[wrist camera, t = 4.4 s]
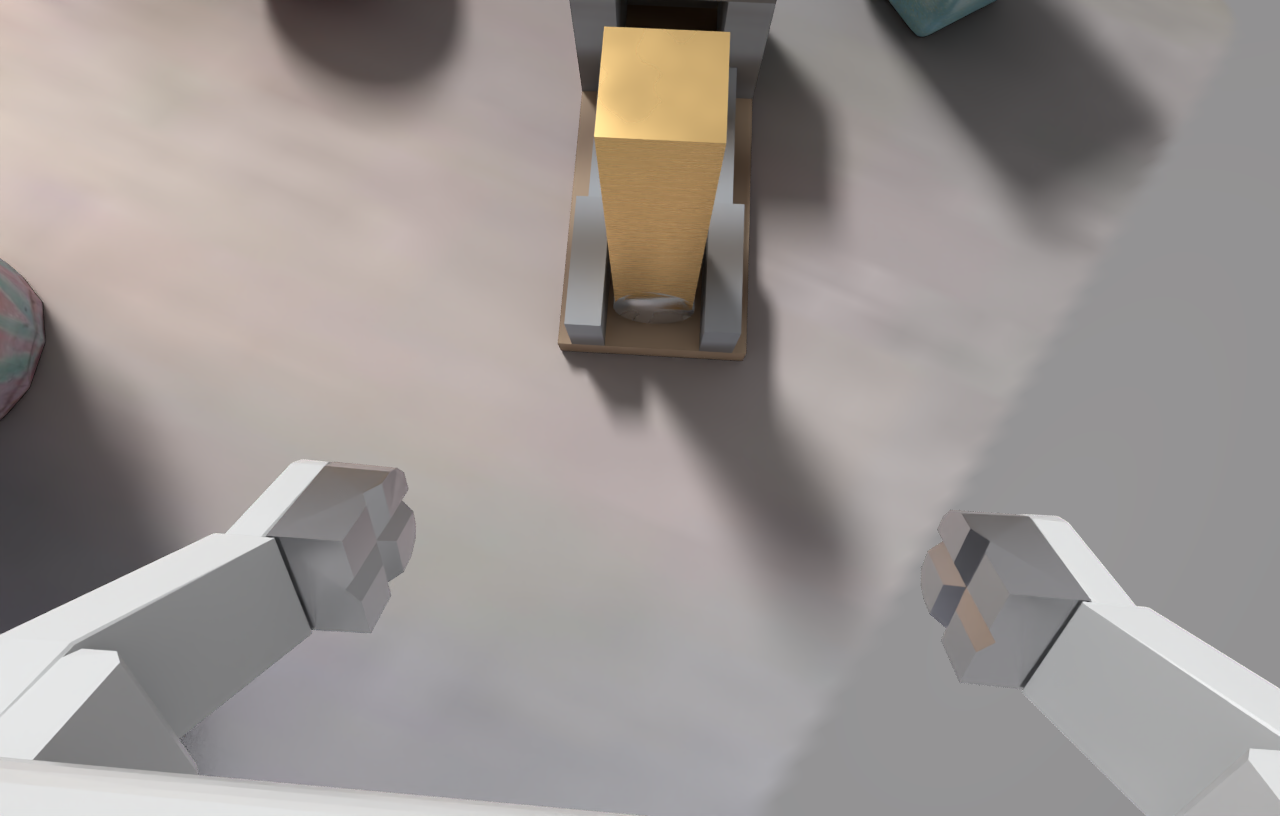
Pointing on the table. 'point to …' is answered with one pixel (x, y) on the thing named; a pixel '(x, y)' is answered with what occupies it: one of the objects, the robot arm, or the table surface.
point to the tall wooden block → (660, 162)
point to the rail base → (722, 288)
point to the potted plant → (18, 336)
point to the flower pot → (934, 13)
